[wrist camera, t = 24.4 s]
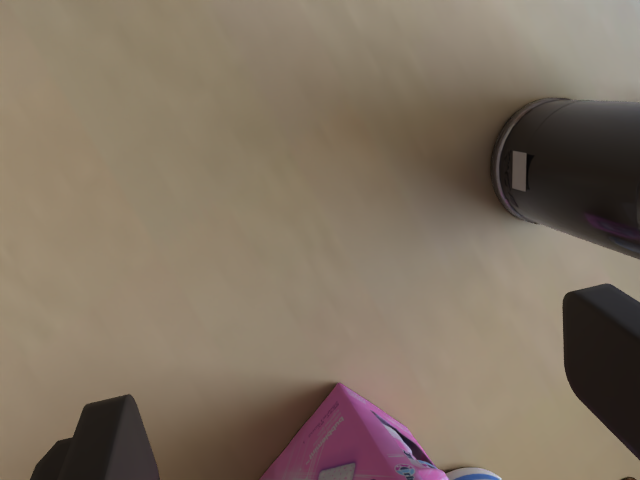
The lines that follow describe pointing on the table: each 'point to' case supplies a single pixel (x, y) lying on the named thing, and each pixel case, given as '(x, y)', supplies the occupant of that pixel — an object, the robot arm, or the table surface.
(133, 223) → the table surface
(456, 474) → the supplement tub
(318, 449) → the gum box
